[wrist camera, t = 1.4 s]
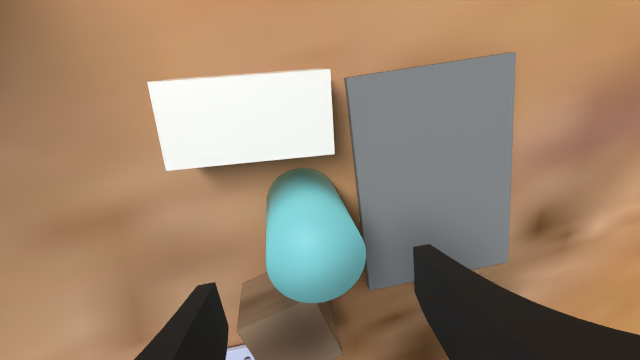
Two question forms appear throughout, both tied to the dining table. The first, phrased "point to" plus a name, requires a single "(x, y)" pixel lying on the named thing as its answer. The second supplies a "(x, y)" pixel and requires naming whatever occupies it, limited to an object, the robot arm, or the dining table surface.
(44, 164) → the dining table surface
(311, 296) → the teal capsule
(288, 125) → the offwhite brick
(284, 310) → the walnut cube
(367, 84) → the mat
